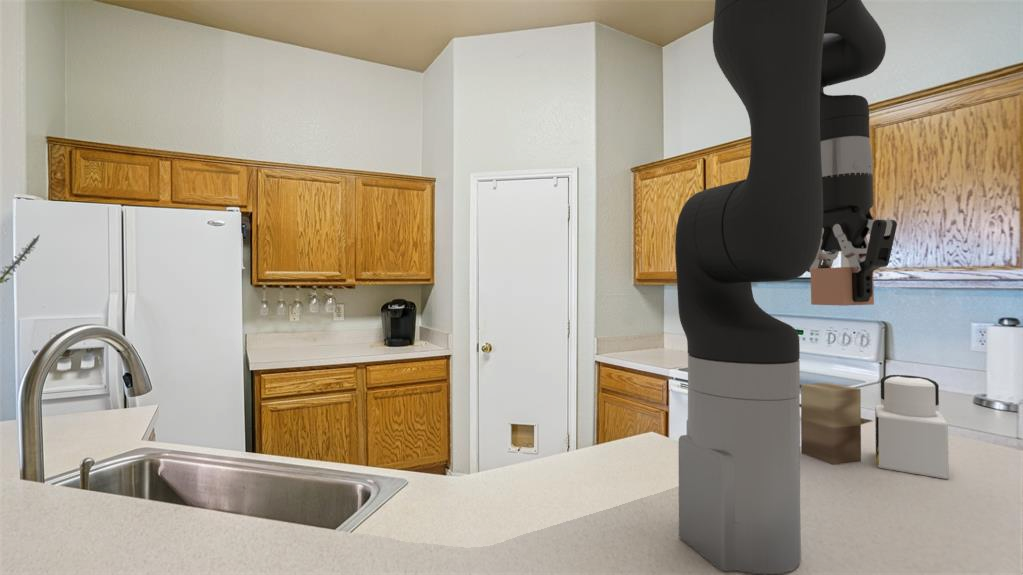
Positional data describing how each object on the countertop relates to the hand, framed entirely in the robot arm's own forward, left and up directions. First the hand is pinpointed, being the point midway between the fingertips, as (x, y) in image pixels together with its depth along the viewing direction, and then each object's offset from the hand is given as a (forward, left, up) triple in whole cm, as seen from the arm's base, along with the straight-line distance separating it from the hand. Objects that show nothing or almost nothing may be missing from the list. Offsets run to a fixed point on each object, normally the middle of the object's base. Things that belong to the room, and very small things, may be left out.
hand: (841, 300), depth 66 cm
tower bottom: (+1, +3, -22) cm, 22 cm away
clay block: (0, 0, 0) cm, 0 cm away
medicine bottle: (+8, -3, -22) cm, 24 cm away
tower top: (+1, +3, -17) cm, 17 cm away
